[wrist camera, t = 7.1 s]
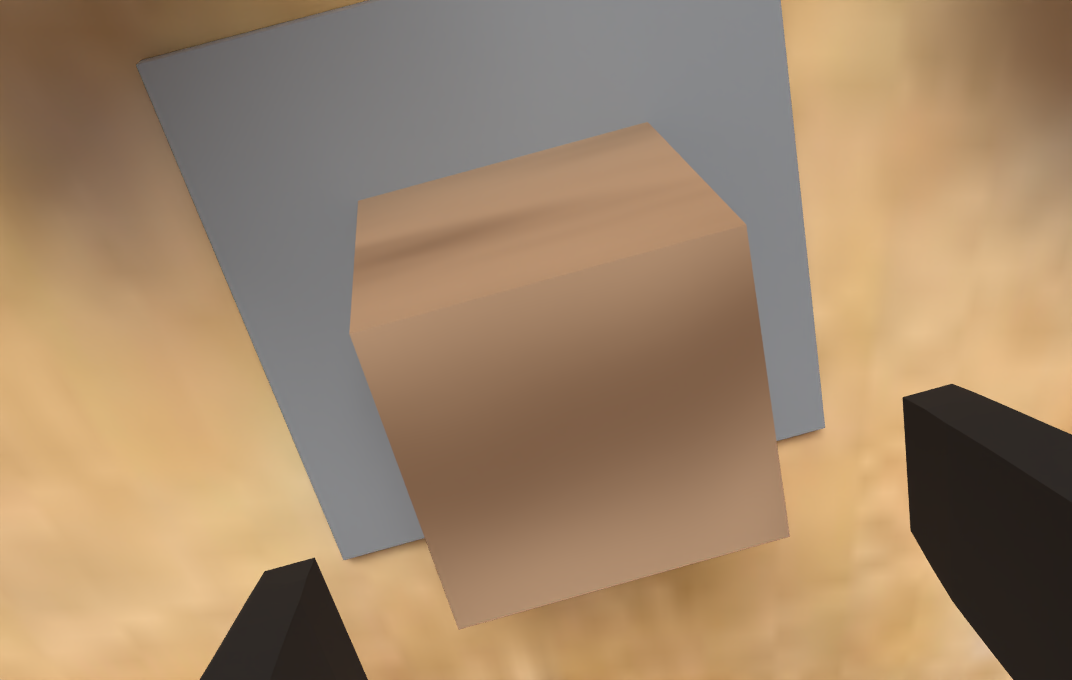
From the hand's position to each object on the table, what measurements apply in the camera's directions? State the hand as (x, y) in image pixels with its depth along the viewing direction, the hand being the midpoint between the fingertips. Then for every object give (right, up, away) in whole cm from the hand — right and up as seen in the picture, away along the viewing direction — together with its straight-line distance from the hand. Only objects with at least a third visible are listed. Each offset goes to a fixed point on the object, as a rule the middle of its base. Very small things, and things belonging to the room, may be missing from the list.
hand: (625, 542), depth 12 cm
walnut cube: (-1, +3, +7) cm, 8 cm away
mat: (-1, +4, +8) cm, 9 cm away
